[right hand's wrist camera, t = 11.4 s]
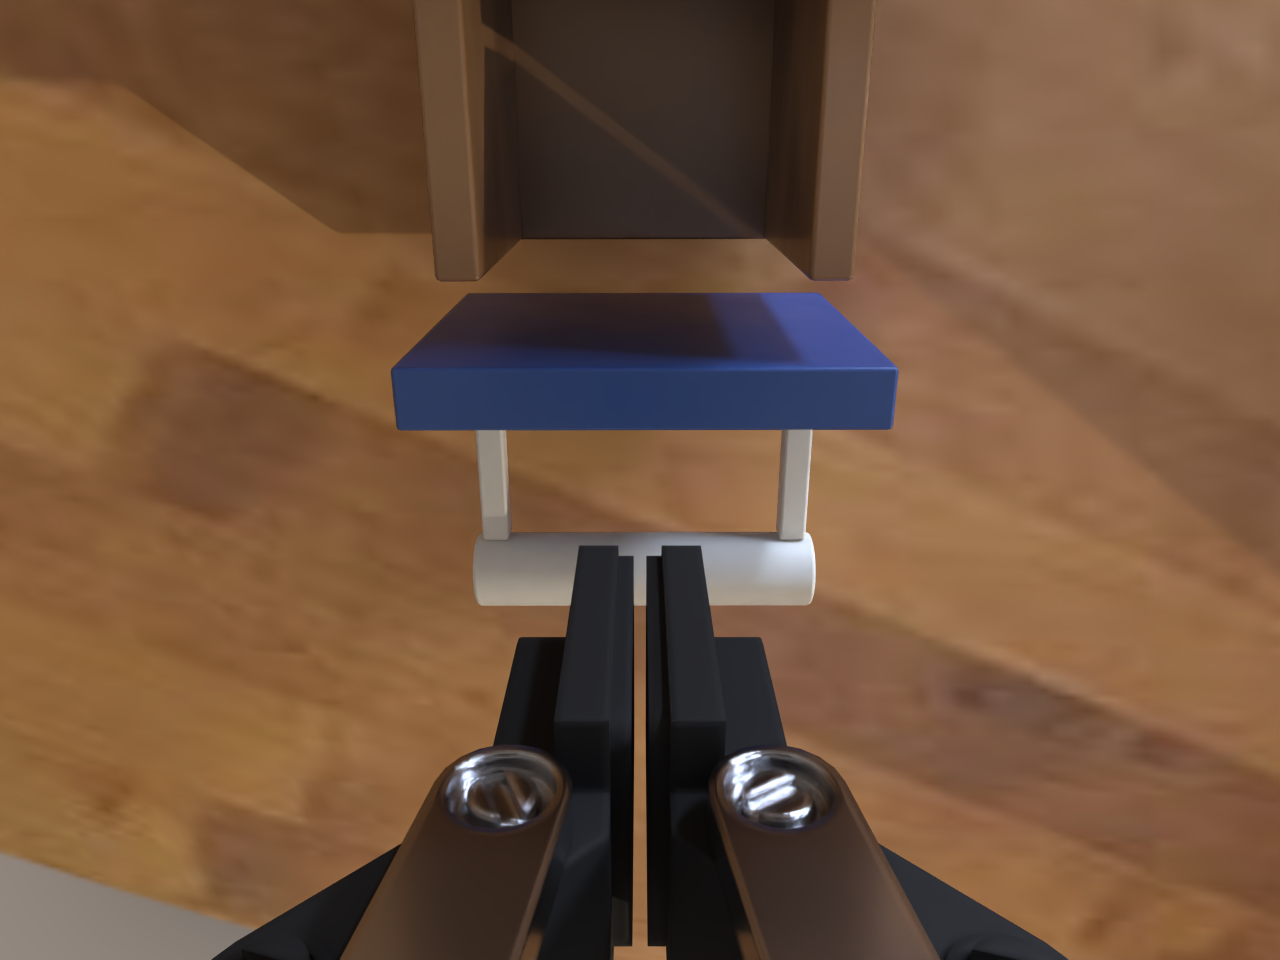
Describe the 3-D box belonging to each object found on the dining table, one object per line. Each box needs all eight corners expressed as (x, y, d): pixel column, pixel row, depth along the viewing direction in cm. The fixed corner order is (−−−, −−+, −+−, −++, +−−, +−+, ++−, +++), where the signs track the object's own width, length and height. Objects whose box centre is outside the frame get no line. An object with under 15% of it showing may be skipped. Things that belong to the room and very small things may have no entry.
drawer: (803, 523, 26) (867, 678, 19) (482, 524, 26) (421, 679, 19) (873, -460, 18) (1027, -850, 11) (413, -459, 18) (262, -846, 11)
